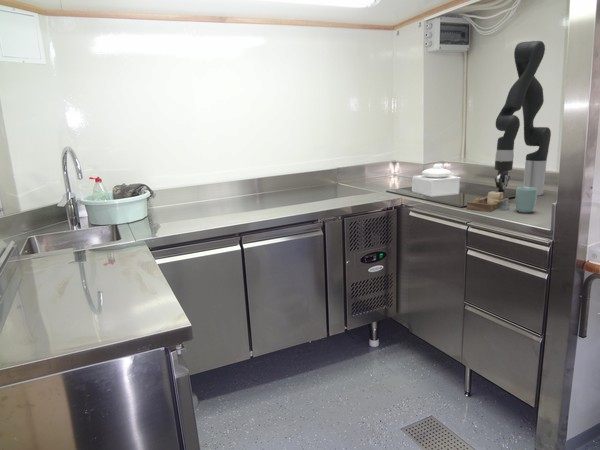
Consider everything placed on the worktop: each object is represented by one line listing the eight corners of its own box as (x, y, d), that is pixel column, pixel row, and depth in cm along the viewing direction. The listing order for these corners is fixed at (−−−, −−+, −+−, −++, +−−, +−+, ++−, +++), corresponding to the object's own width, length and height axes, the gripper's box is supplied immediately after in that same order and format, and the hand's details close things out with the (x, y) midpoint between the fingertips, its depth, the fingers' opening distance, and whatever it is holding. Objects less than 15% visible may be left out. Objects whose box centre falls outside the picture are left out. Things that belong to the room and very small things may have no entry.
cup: (537, 214, 176) (540, 189, 173) (517, 213, 177) (519, 189, 175) (531, 210, 183) (534, 186, 181) (512, 209, 185) (514, 186, 182)
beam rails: (486, 201, 204) (486, 194, 203) (508, 203, 197) (509, 196, 196) (466, 209, 189) (467, 201, 188) (490, 211, 182) (490, 204, 181)
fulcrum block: (501, 208, 188) (502, 200, 188) (508, 208, 186) (509, 201, 186) (498, 209, 186) (498, 201, 185) (505, 210, 184) (506, 202, 183)
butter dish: (411, 192, 235) (412, 163, 231) (439, 189, 241) (440, 161, 237) (431, 197, 219) (432, 166, 215) (460, 194, 224) (462, 163, 221)
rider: (491, 201, 201) (492, 191, 200) (502, 203, 198) (503, 192, 197) (487, 203, 198) (487, 192, 197) (498, 204, 195) (499, 193, 193)
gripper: (501, 158, 205) (497, 194, 209) (490, 160, 196) (487, 197, 200) (517, 158, 200) (514, 195, 204) (507, 161, 191) (504, 199, 195)
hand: (500, 196), depth 202 cm, fingers closed
